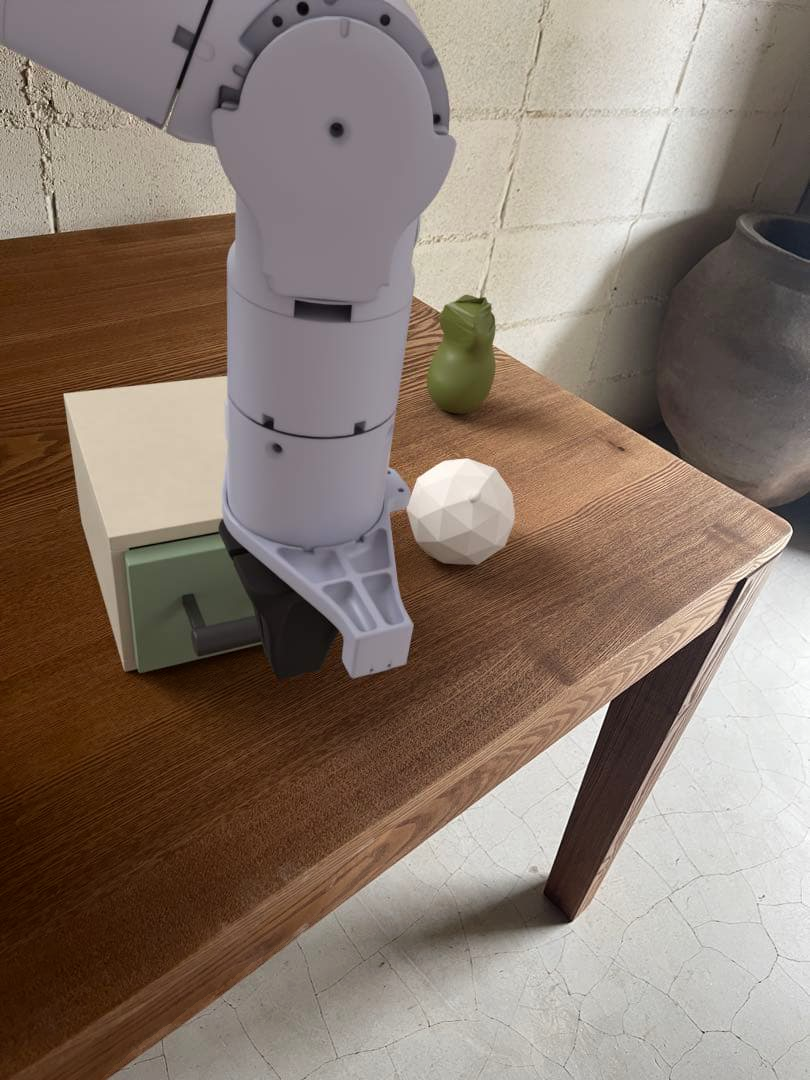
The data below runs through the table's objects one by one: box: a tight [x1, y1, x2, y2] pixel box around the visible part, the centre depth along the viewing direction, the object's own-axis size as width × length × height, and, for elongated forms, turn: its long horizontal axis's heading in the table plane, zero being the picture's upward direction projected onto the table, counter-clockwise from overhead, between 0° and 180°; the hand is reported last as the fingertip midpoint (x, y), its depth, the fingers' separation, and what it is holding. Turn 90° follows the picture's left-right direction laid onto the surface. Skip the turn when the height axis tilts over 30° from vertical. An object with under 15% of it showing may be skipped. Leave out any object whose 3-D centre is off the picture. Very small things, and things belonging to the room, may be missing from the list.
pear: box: [426, 294, 497, 414], centre depth 71 cm, size 6×5×10 cm
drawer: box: [124, 532, 262, 674], centre depth 49 cm, size 16×11×8 cm, turn 25°
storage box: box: [63, 375, 227, 672], centre depth 52 cm, size 14×12×10 cm
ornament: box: [405, 457, 516, 566], centre depth 57 cm, size 7×7×8 cm
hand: (294, 663), depth 38 cm, fingers closed
